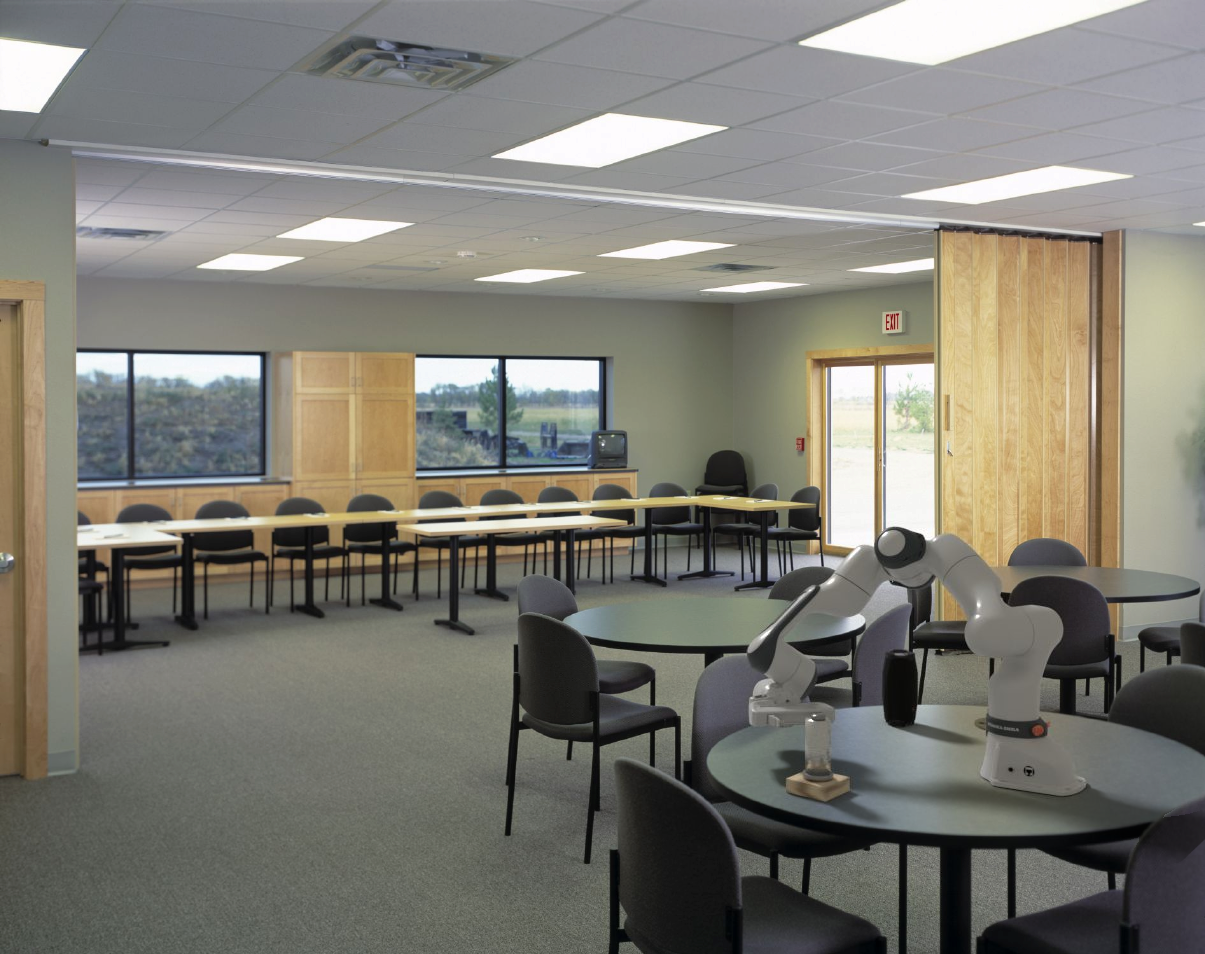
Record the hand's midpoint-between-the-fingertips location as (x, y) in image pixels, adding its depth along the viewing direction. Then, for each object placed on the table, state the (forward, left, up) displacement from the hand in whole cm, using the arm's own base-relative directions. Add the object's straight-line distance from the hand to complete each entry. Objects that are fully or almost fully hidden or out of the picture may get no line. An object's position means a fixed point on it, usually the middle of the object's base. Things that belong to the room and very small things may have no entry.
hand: (801, 723), depth 265 cm
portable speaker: (+5, -56, -12) cm, 58 cm away
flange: (-17, -72, -13) cm, 75 cm away
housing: (-9, +8, -9) cm, 15 cm away
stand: (-9, +8, -12) cm, 17 cm away
